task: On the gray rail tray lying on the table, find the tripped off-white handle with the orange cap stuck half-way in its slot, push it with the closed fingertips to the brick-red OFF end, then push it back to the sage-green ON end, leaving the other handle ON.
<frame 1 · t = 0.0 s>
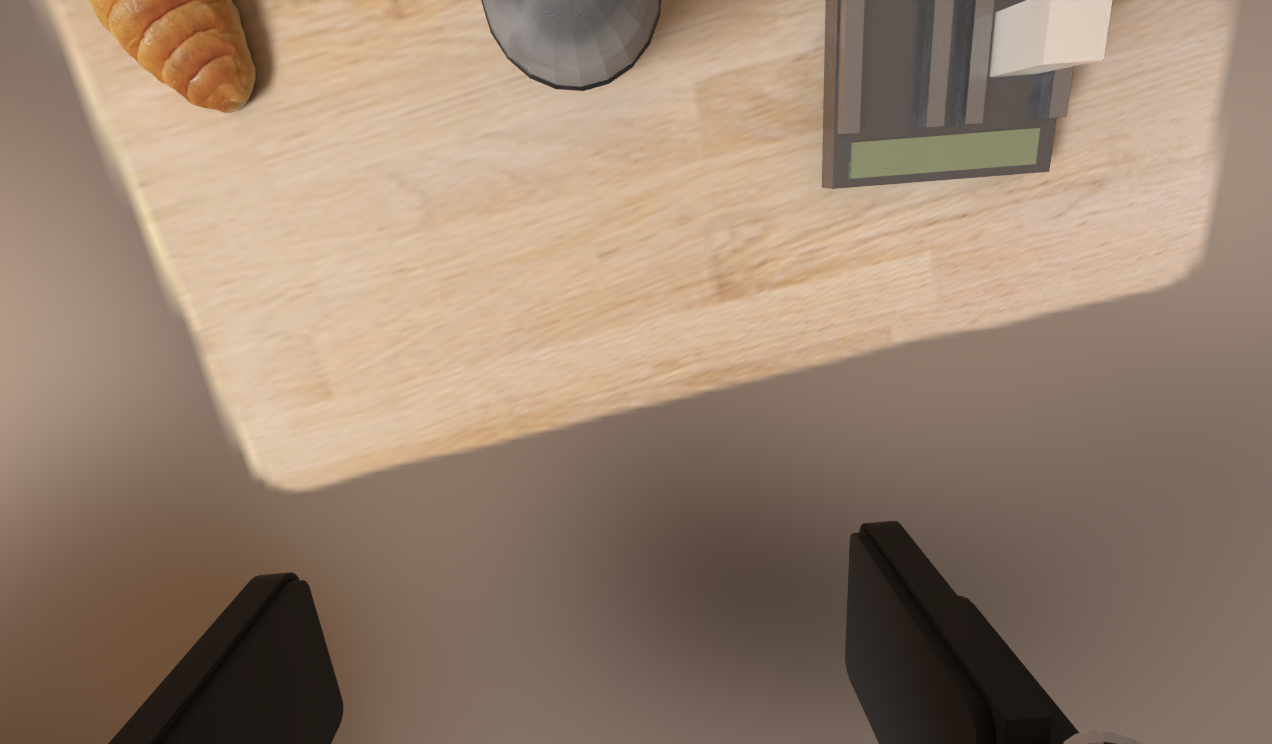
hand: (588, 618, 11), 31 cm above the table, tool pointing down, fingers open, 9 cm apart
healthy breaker: (1044, 35, 32), point 5 cm above the table, slide at 14.0 cm
beverage cup: (584, 44, 36), on the table
pastry: (191, 15, 35), on the table
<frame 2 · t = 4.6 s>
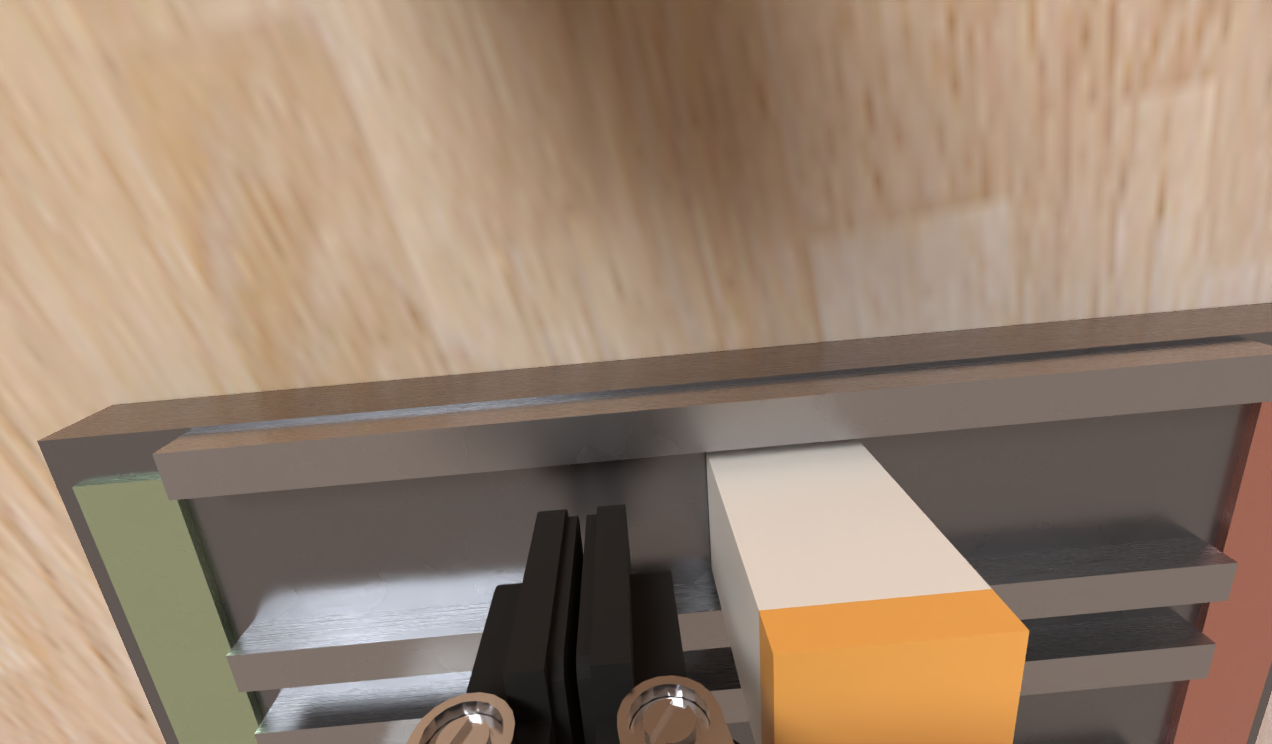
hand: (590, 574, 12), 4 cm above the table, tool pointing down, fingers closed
tripped breaker: (823, 590, 11), point 5 cm above the table, slide at 5.8 cm, touching gripper
gray rail tray: (716, 582, 17), on the table
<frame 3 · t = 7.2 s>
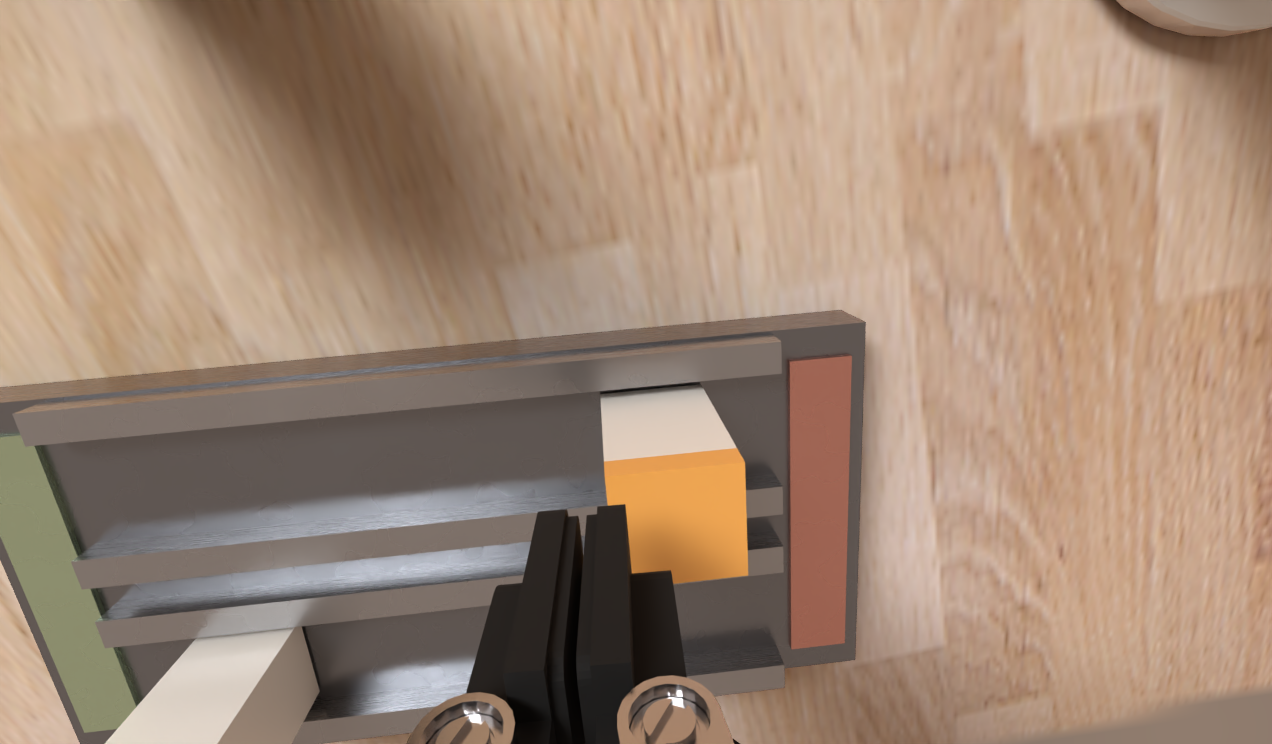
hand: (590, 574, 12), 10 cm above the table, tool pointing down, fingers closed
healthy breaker: (221, 721, 19), point 5 cm above the table, slide at 14.0 cm
tripped breaker: (664, 472, 17), point 5 cm above the table, slide at -0.1 cm
gray rail tray: (462, 519, 23), on the table
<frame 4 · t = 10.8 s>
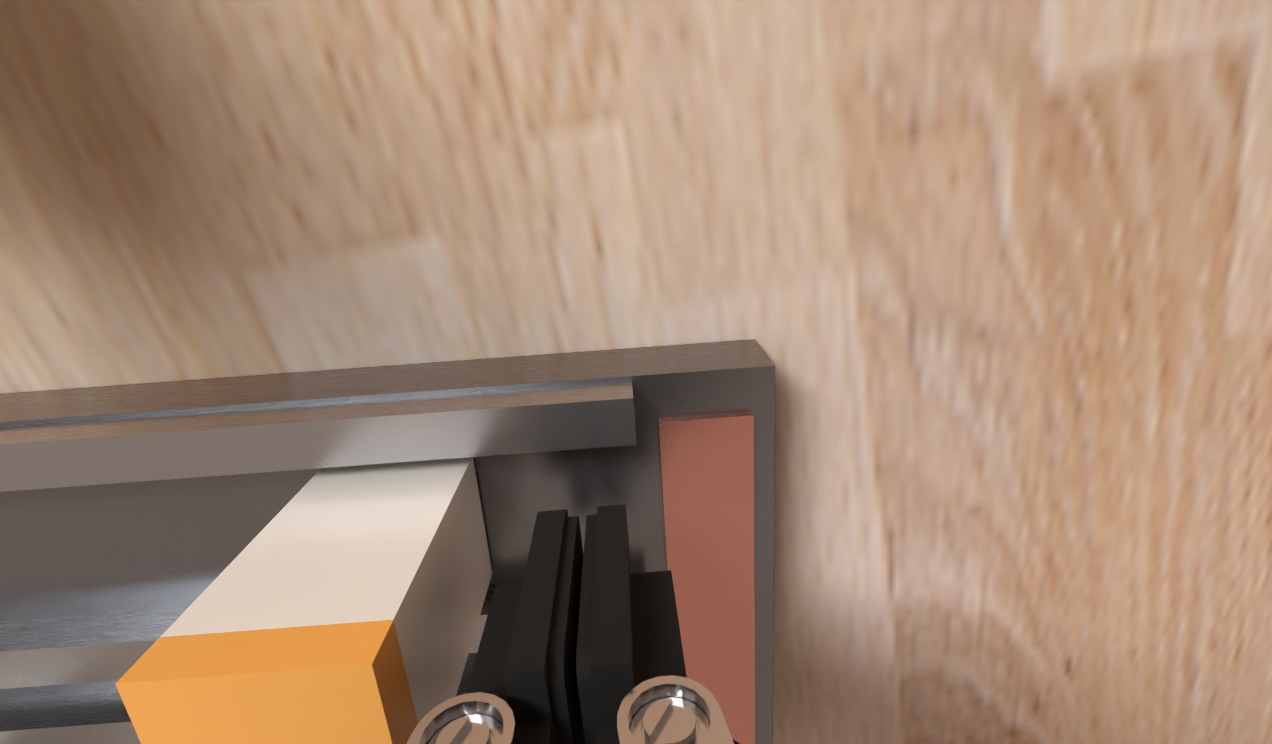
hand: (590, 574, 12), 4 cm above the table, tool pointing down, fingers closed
tripped breaker: (359, 612, 11), point 5 cm above the table, slide at 1.1 cm, touching gripper
gray rail tray: (241, 607, 17), on the table
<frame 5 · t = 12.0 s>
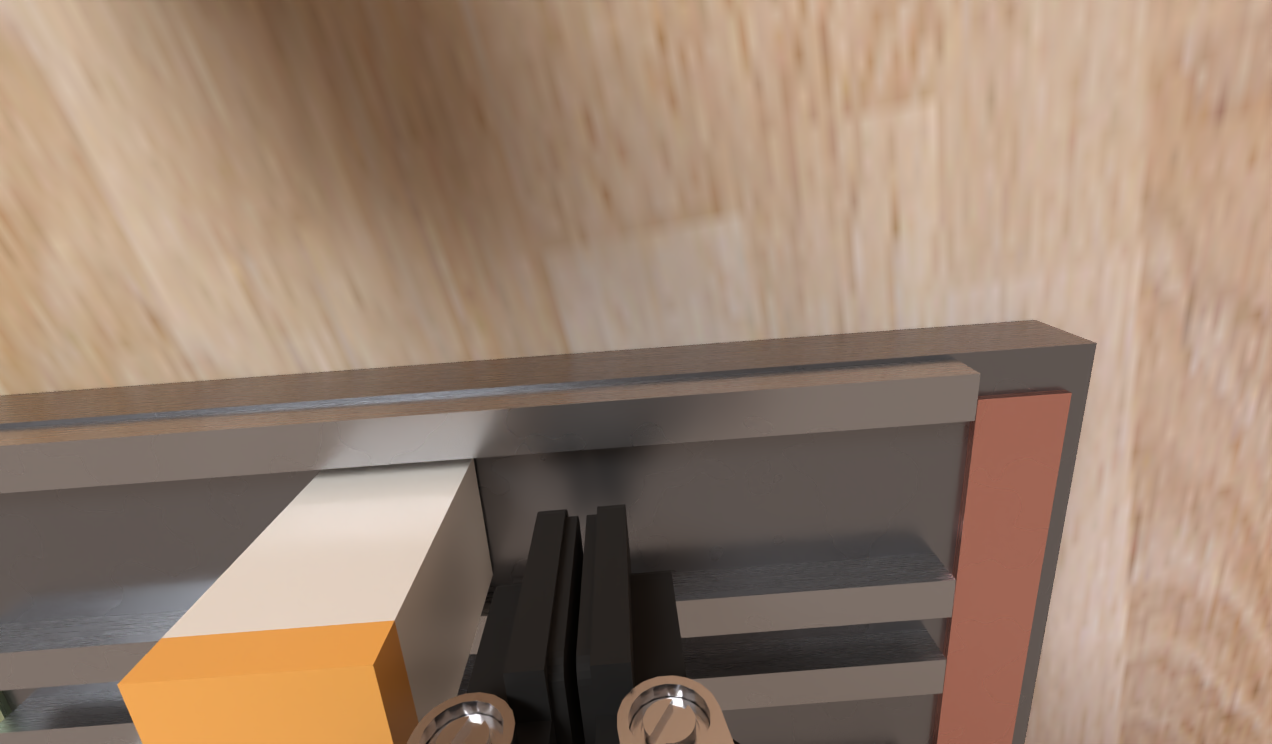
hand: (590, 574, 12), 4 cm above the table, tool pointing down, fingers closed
tripped breaker: (360, 613, 11), point 5 cm above the table, slide at 7.9 cm, touching gripper
gray rail tray: (491, 589, 17), on the table
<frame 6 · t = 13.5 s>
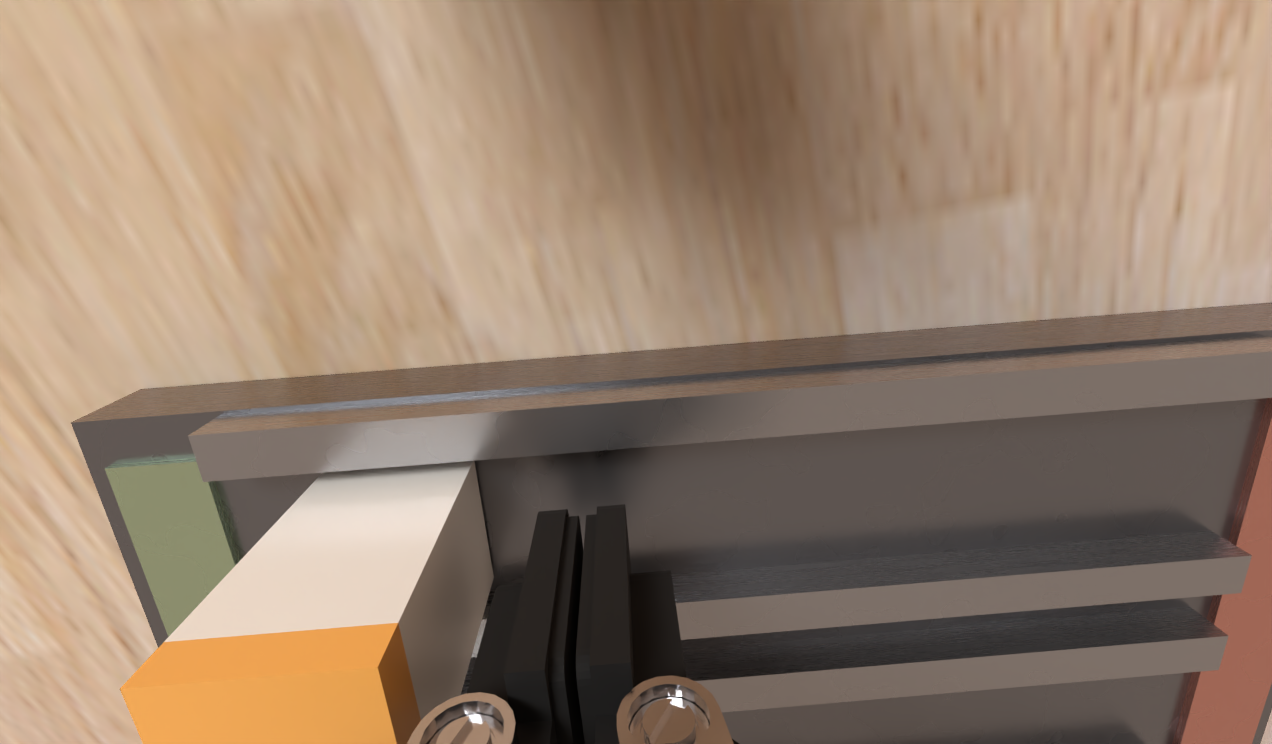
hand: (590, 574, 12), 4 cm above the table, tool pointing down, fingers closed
tripped breaker: (362, 616, 11), point 5 cm above the table, slide at 14.5 cm, touching gripper
gray rail tray: (734, 572, 17), on the table
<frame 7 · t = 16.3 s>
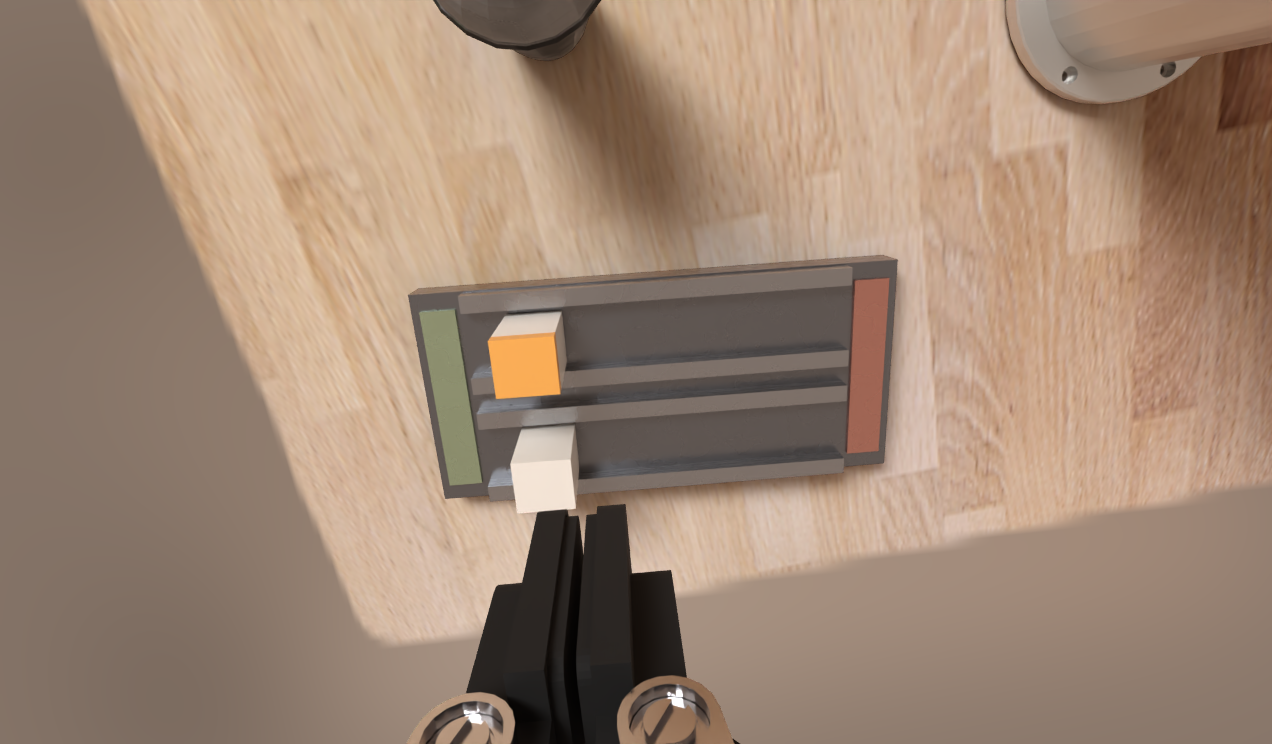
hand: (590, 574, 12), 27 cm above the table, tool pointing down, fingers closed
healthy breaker: (547, 465, 36), point 5 cm above the table, slide at 14.0 cm
beverage cup: (543, 14, 33), on the table
tripped breaker: (531, 351, 33), point 5 cm above the table, slide at 14.1 cm
gray rail tray: (658, 374, 39), on the table
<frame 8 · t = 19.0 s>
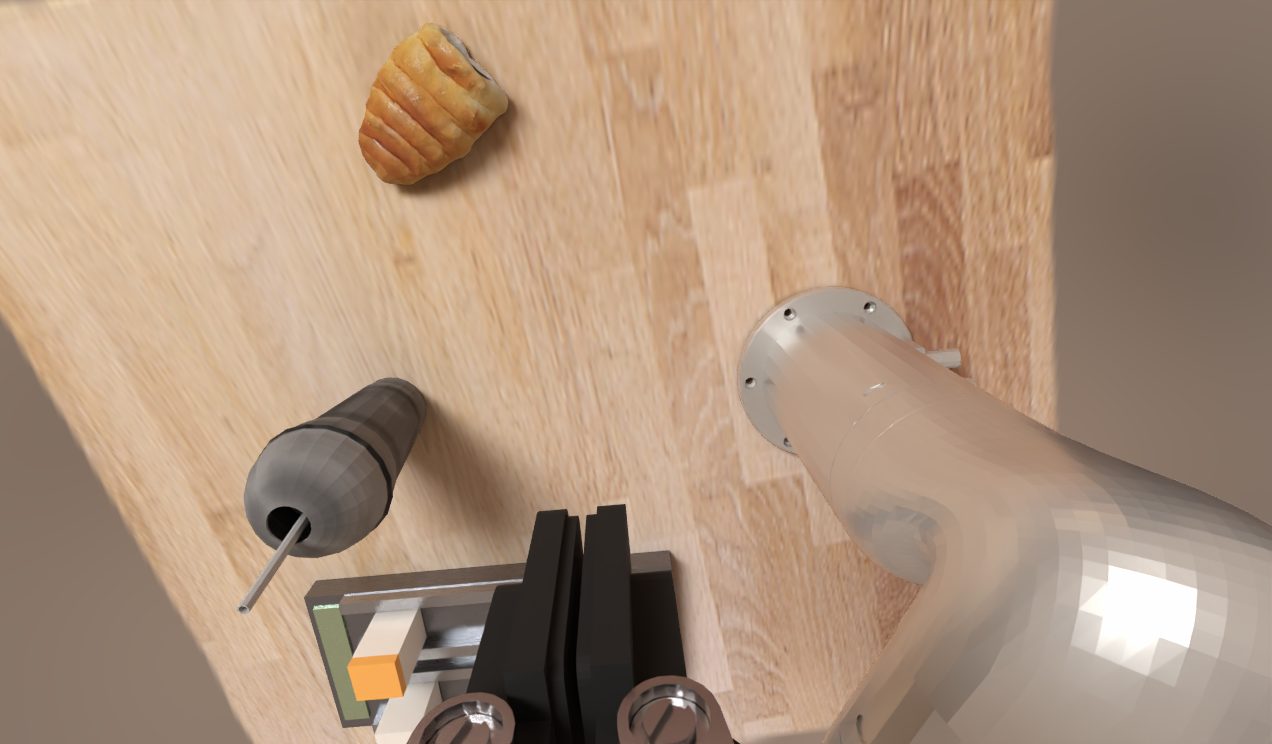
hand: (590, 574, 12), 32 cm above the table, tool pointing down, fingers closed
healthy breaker: (410, 719, 48), point 5 cm above the table, slide at 14.0 cm
beverage cup: (395, 406, 45), on the table
tripped breaker: (389, 650, 45), point 5 cm above the table, slide at 14.1 cm
gray rail tray: (504, 632, 51), on the table
pastry: (440, 110, 39), on the table
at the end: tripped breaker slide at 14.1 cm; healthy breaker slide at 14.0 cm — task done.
